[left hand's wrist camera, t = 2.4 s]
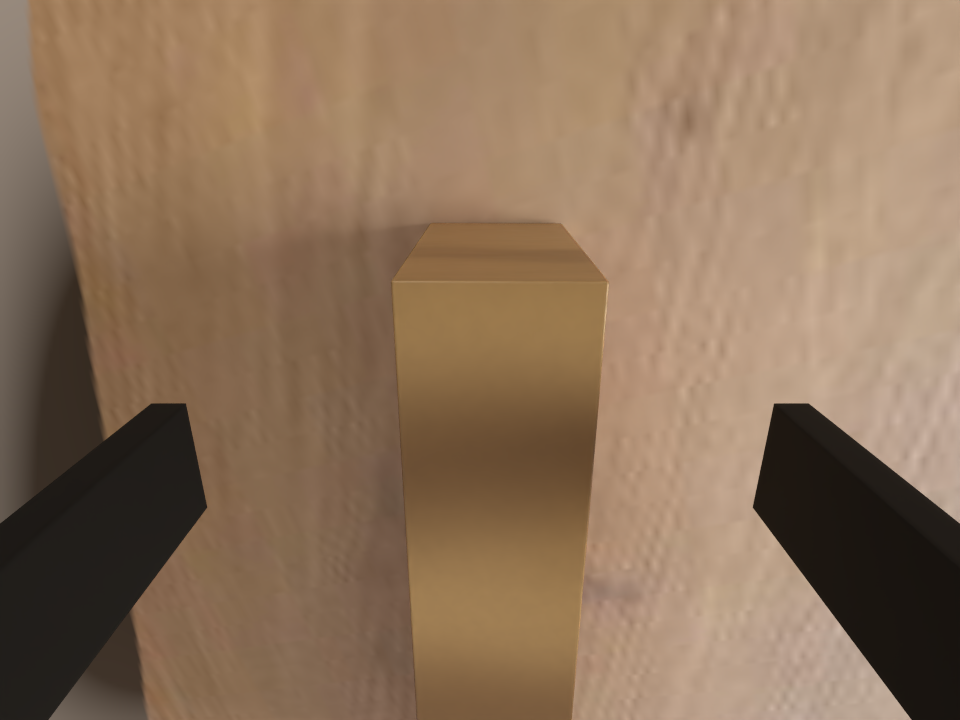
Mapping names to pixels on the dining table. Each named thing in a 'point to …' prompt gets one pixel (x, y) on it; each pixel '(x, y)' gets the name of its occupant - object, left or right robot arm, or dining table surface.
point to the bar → (497, 462)
